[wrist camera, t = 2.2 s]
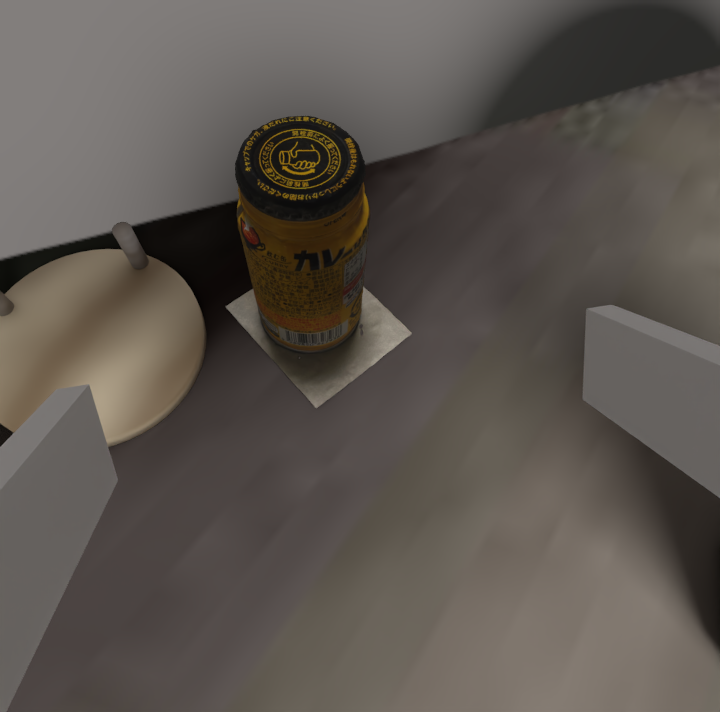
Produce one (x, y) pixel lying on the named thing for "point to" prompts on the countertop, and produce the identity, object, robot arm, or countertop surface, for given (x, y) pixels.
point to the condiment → (309, 255)
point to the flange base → (101, 337)
